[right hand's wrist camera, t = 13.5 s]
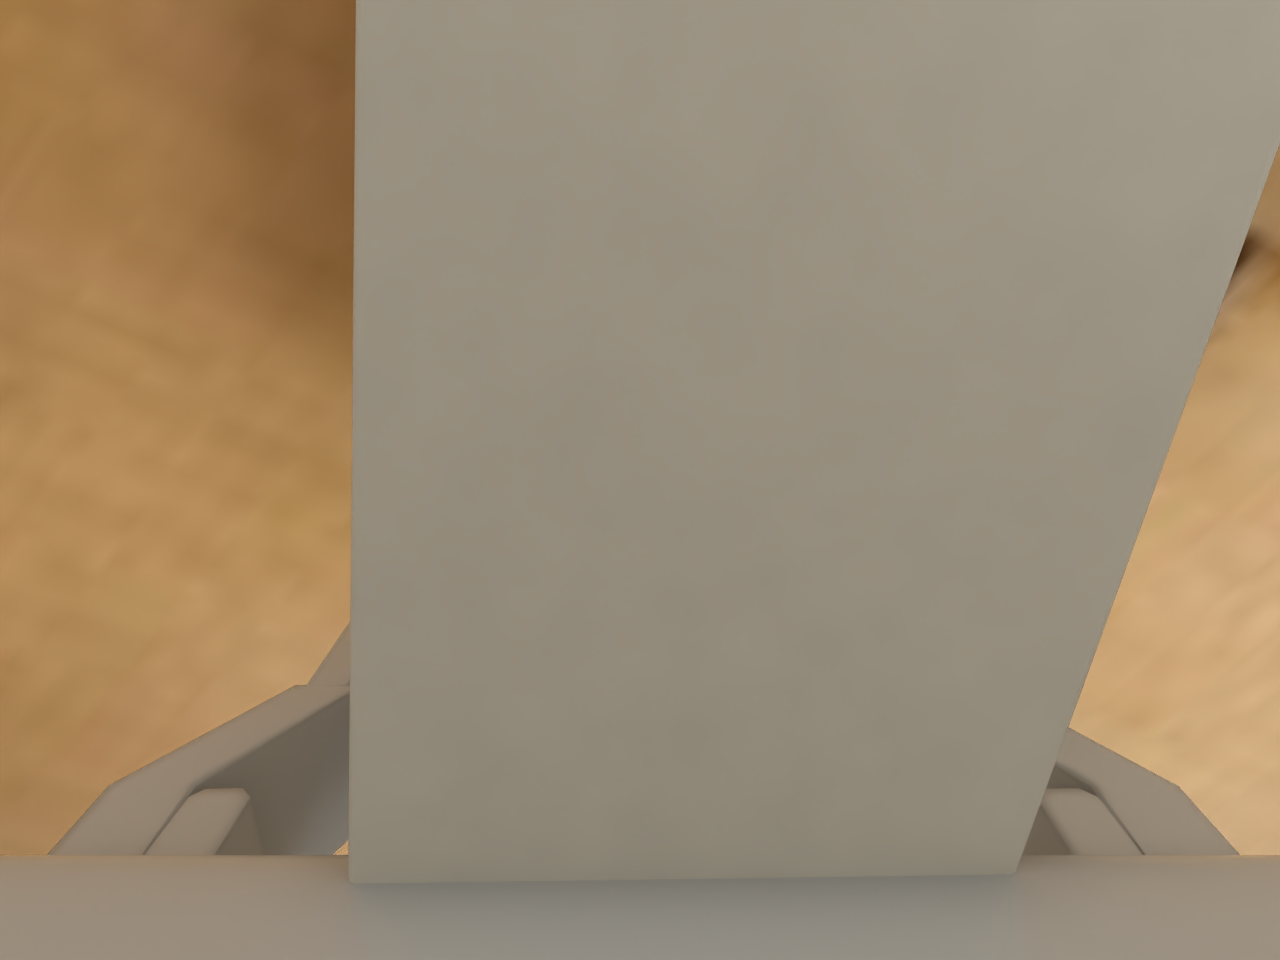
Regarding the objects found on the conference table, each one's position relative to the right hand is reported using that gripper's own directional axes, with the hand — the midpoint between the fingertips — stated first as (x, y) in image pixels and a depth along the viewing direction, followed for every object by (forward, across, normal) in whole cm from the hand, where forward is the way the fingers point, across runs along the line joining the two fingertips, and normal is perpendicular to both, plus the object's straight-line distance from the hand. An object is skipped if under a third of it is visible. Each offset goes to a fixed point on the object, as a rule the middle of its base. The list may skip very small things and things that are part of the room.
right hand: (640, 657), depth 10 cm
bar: (+4, -1, -9) cm, 10 cm away
